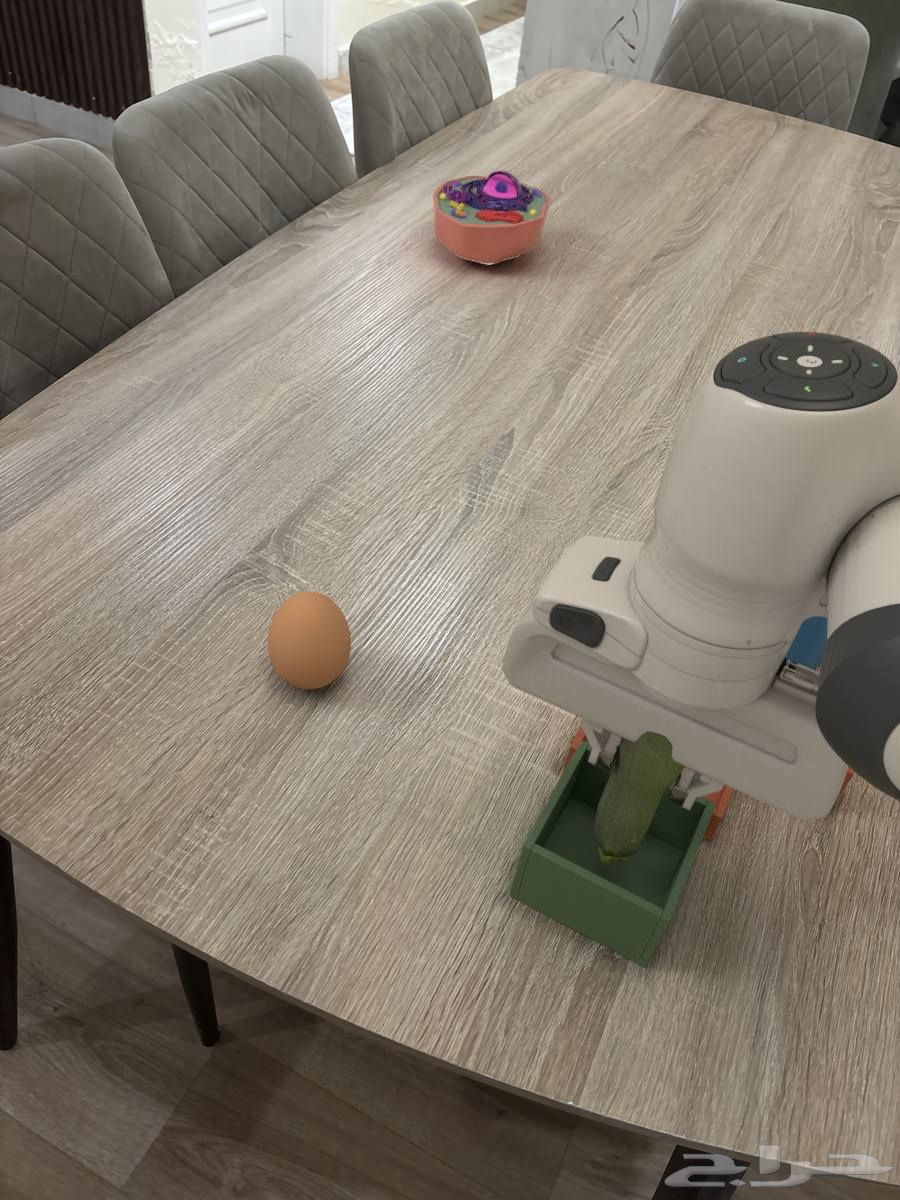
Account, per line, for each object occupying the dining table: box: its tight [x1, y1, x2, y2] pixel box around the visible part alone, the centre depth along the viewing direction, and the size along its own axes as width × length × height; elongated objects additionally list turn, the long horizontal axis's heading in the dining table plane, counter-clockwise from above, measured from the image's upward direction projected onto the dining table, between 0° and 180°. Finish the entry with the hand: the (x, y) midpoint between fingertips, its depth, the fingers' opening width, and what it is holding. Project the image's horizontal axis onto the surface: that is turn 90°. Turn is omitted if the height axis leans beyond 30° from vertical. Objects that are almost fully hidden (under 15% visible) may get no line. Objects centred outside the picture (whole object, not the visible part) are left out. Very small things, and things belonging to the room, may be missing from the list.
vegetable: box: [594, 731, 685, 864], centre depth 59 cm, size 4×4×20 cm
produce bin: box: [508, 740, 716, 969], centre depth 65 cm, size 10×10×6 cm
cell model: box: [432, 170, 552, 267], centre depth 137 cm, size 17×20×11 cm
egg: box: [267, 590, 352, 690], centre depth 75 cm, size 7×7×9 cm
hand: (640, 778), depth 60 cm, fingers closed on vegetable, 4 cm apart
